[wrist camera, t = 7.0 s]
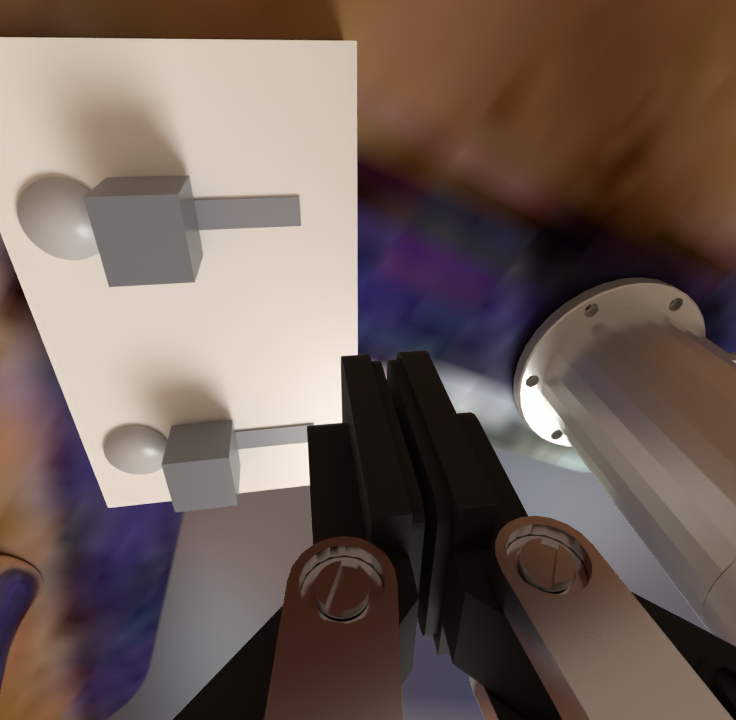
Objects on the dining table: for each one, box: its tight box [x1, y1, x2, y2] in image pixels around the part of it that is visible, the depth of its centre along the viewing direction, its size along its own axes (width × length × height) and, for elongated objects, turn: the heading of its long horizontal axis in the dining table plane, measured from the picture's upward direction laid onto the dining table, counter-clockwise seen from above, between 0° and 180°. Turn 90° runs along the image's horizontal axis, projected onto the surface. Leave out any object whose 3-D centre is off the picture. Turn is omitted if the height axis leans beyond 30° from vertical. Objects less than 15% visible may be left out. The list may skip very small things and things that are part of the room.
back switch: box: [161, 420, 241, 512], centre depth 25 cm, size 3×3×3 cm
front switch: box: [83, 175, 203, 287], centre depth 19 cm, size 3×3×3 cm
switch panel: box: [0, 37, 358, 508], centre depth 25 cm, size 14×22×4 cm, turn 179°
